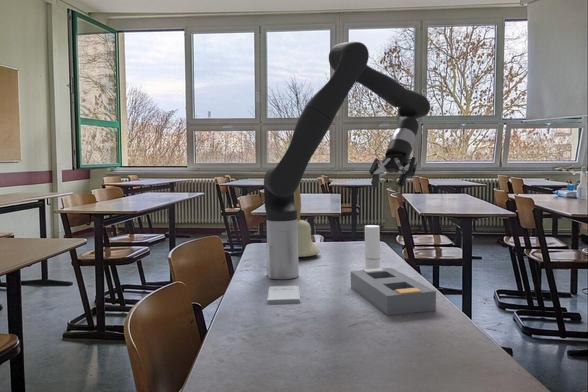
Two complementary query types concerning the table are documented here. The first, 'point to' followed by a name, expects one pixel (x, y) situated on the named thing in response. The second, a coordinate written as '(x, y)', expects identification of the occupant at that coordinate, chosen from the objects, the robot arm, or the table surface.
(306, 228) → the handbell
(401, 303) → the socket block
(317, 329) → the table surface
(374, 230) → the tube
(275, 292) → the external hard drive
